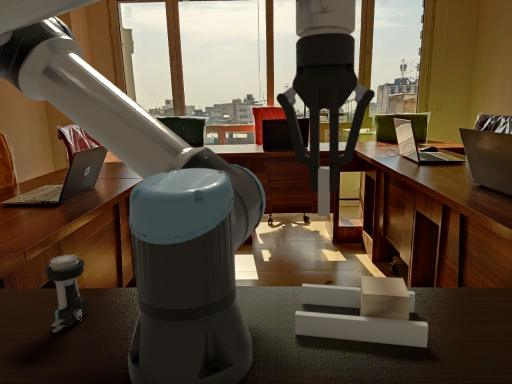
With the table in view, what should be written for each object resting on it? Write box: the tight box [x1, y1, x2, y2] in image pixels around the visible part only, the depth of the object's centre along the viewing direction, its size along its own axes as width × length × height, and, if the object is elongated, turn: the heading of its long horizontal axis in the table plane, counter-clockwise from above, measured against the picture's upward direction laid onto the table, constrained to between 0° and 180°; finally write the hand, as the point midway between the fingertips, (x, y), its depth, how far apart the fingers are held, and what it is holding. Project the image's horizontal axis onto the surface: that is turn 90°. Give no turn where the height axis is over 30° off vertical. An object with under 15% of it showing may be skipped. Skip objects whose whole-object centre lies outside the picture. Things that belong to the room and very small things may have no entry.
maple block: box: [359, 275, 410, 321], centre depth 54 cm, size 6×6×6 cm
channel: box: [294, 283, 429, 348], centre depth 55 cm, size 17×10×3 cm, turn 77°
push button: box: [44, 254, 89, 333], centre depth 56 cm, size 7×5×10 cm
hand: (323, 213), depth 53 cm, fingers closed
